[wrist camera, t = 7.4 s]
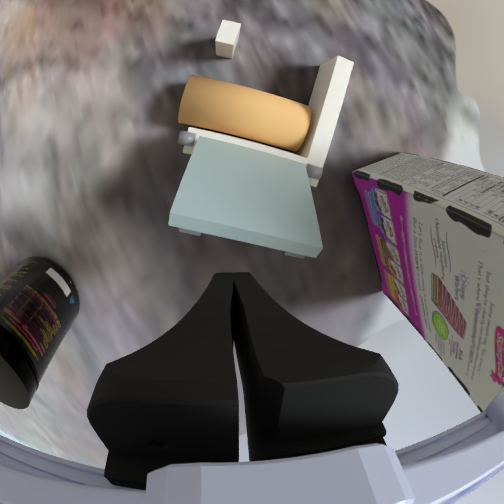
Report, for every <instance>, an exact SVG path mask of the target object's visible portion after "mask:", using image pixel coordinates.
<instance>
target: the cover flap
mask: <svg viewBox="0 0 504 504" xmlns="http://www.w3.org/2000/svg"><path fill="white" fill-rule="evenodd" d="M168 225H169V226H174V227H178V228H179V232H183V233H187V234H192V235H197V236H201V233H206V234H210V235H215V236H219V237H224V238H228V239H233V240H237V241H242V242H246V243H251V244H255V245H260V246H264V247H269V248H273V249H278V250H282V251H284V255H287V256H292V257H296V258H301V259H304V257H305V256H308V257H313V258H316V257H317V256H318V255H319V253H320V252H321V250H322V249H323V246H322V240H321V235H320V230H319V225H318V220H317V215H316V211H315V206H314V201H313V197H312V192H311V188H310V183H309V179H308V175H307V170H306V166H305V164H303V163H300V162H297V161H294V160H290V159H287V158H284V157H280V156H277V155H273V154H270V153H266V152H263V151H259V150H255V149H252V148H248V147H244V146H240V145H236V144H232V143H228V142H224V141H220V140H215V139H211V138H207V137H202V136H199V138H198V141H197V143H196V145H195V148H194V150H193V153H192V155H191V158H190V160H189V163H188V165H187V168H186V170H185V173H184V175H183V178H182V181H181V183H180V186H179V189H178V191H177V194H176V197H175V200H174V202H173V205H172V208H171V211H170V215H169V223H168Z"/></svg>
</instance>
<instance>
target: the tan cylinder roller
mask: <svg viewBox="0 0 504 504" xmlns="http://www.w3.org/2000/svg"><path fill="white" fill-rule="evenodd" d="M310 119H311V108H310V106H307V105H304V104H301V103H298V102H295V101H292V100H289V99H286V98H283V97H280V96H277V95H273V94H270V93H266V92H263V91H259V90H256V89H252V88H248V87H245V86H241V85H237V84H232V83H228V82H224V81H219V80H215V79H210V78H205V77H200V76H195V75H191V76H190V78H189V80H188V82H187V84H186V87H185V89H184V92H183V96H182V99H181V104H180V108H179V116H178V121H179V123H182V124H187V125H192V126H197V127H202V128H206V129H211V130H215V131H220V132H224V133H228V134H232V135H236V136H240V137H244V138H248V139H252V140H255V141H259V142H263V143H266V144H270V145H273V146H277V147H280V148H283V149H287V150H290V151H293V152H296V151H297V150H298V149H299V148H300V147H301V145H302V143H303V141H304V139H305V137H306V134H307V131H308V128H309V124H310Z"/></svg>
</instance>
